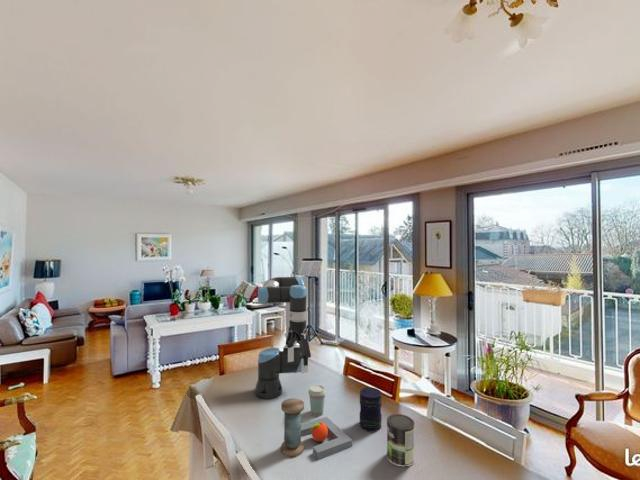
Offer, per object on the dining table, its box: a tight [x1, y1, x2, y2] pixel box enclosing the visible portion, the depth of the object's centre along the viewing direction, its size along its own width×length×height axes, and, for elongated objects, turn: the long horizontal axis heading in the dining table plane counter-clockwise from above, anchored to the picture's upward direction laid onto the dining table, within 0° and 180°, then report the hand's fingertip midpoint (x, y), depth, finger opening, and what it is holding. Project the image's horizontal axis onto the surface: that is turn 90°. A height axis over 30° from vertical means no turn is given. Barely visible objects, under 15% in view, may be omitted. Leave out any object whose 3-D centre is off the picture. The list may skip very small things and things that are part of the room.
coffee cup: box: [308, 384, 327, 417], centre depth 152 cm, size 8×8×12 cm
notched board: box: [301, 416, 353, 460], centre depth 131 cm, size 20×16×2 cm
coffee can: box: [386, 413, 415, 468], centre depth 120 cm, size 10×10×14 cm
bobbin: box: [280, 397, 305, 458], centre depth 124 cm, size 9×9×18 cm
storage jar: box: [359, 386, 383, 433], centre depth 142 cm, size 10×10×15 cm
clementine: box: [310, 422, 329, 442], centre depth 130 cm, size 8×7×7 cm
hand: (297, 366), depth 141 cm, fingers open, 13 cm apart
